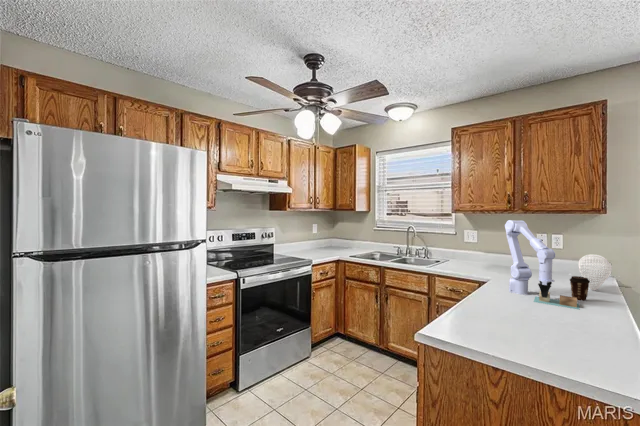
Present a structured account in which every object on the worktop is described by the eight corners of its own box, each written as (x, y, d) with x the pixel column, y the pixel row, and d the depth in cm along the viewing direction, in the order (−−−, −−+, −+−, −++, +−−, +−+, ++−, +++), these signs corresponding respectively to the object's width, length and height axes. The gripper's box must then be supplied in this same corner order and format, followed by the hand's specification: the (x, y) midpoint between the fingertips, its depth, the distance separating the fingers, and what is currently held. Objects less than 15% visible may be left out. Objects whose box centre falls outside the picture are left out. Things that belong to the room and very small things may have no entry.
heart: (611, 297, 182) (613, 259, 182) (577, 292, 192) (578, 256, 192) (608, 288, 204) (609, 254, 203) (577, 284, 214) (578, 252, 213)
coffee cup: (584, 299, 176) (585, 276, 176) (593, 303, 168) (593, 279, 168) (566, 297, 179) (567, 275, 179) (574, 301, 171) (574, 278, 171)
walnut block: (559, 304, 162) (559, 297, 162) (559, 301, 168) (559, 295, 168) (576, 307, 158) (577, 300, 158) (576, 304, 163) (576, 297, 163)
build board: (533, 303, 166) (533, 301, 166) (535, 297, 177) (535, 296, 177) (579, 311, 154) (579, 309, 154) (578, 304, 165) (578, 303, 165)
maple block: (539, 300, 169) (539, 292, 169) (539, 298, 172) (539, 290, 172) (549, 302, 166) (549, 294, 166) (549, 300, 169) (550, 292, 169)
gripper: (554, 274, 161) (553, 300, 161) (555, 270, 172) (554, 294, 172) (537, 272, 165) (536, 297, 165) (539, 268, 176) (538, 292, 176)
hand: (544, 296), depth 169 cm, fingers open, 7 cm apart
